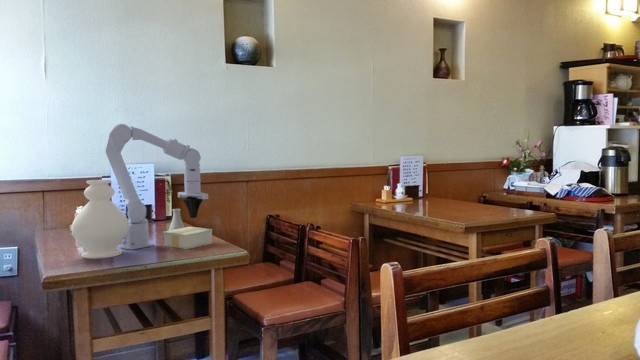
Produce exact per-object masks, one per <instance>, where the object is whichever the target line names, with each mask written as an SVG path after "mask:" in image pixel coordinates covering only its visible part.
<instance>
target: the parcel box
mask: <svg viewBox="0 0 640 360" xmlns="http://www.w3.org/2000/svg"><path fill="white" fill-rule="evenodd" d="M163 236H164V237H163V238H164V242H163V243H164V246H165V247H171V248H179V249H185V250H189V249H193V248H198V247H202V245H203V246H207V245H212V244H213V230H212V231H210V232H205V233H201V234H196V235H191V236H187V237H185V236H178V235H170V234H163Z"/></svg>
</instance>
